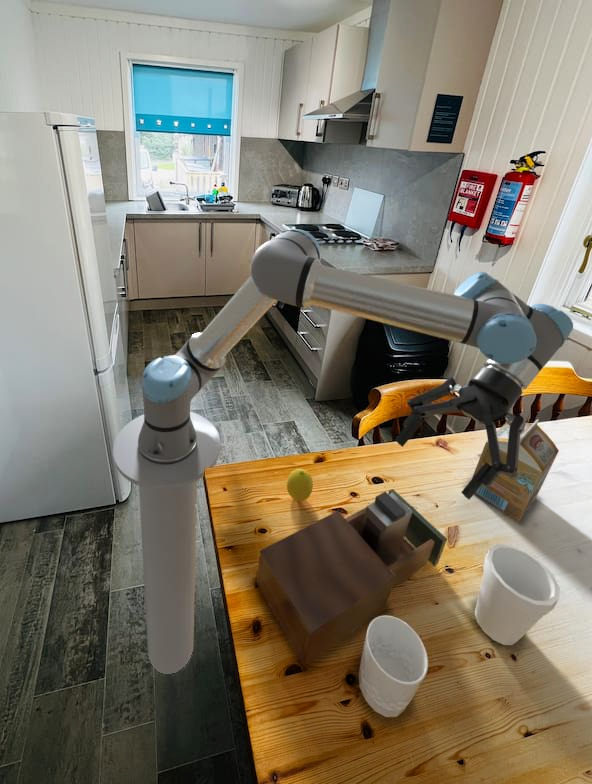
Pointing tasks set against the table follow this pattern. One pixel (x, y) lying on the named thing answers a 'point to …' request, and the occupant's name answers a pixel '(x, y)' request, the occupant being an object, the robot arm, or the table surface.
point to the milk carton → (519, 470)
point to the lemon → (299, 484)
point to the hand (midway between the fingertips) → (429, 468)
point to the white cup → (391, 665)
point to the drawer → (418, 535)
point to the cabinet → (323, 584)
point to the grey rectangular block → (385, 526)
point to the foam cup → (513, 593)
